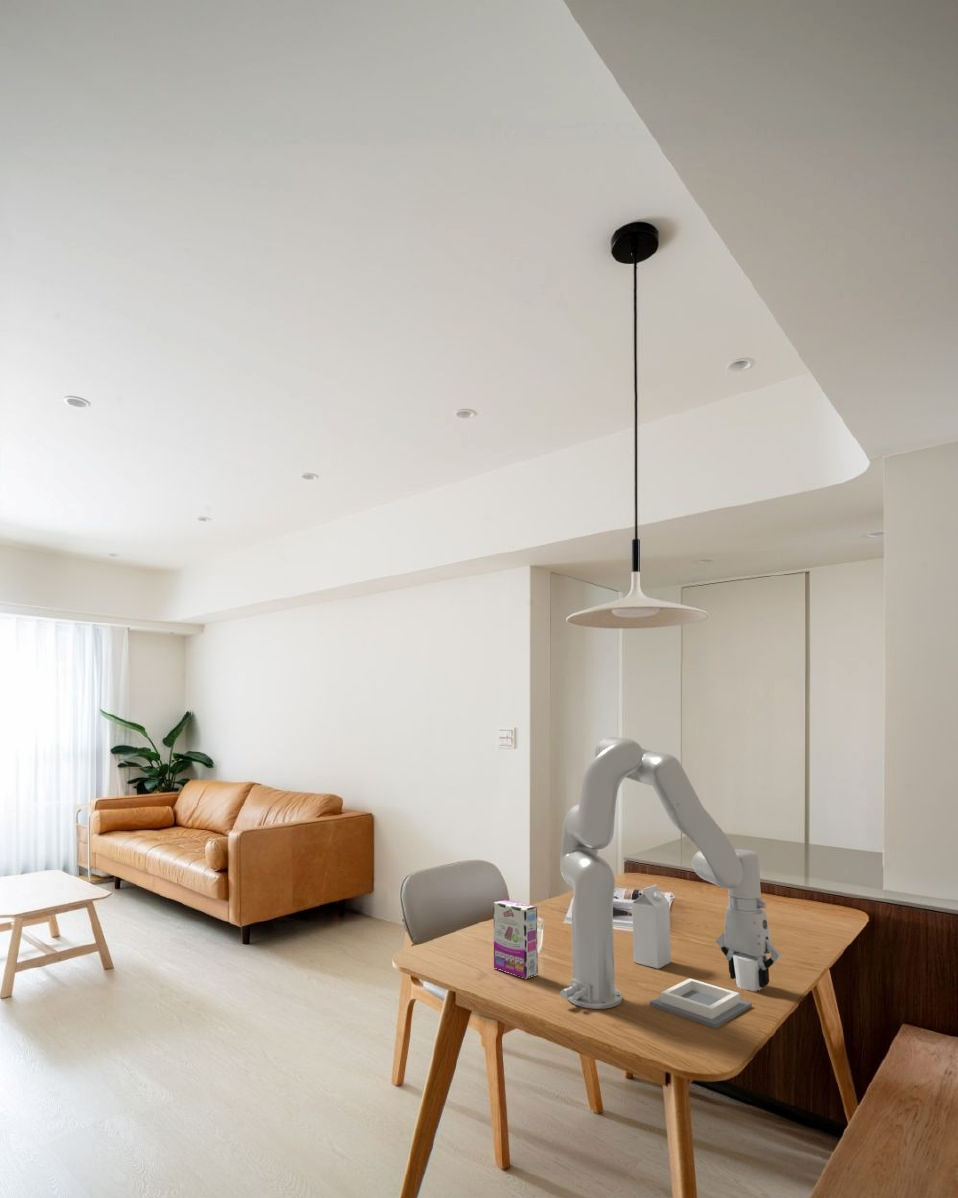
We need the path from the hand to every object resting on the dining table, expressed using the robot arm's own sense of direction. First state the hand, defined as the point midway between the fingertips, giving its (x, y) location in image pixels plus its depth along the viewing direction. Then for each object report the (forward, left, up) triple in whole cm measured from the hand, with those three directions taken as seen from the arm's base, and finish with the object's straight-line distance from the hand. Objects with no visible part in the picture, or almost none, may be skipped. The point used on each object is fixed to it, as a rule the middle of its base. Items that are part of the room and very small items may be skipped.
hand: (749, 981), depth 172 cm
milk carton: (-3, +25, -1) cm, 25 cm away
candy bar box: (-34, +45, -1) cm, 56 cm away
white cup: (0, 0, -1) cm, 1 cm away
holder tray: (-19, +2, -1) cm, 19 cm away
